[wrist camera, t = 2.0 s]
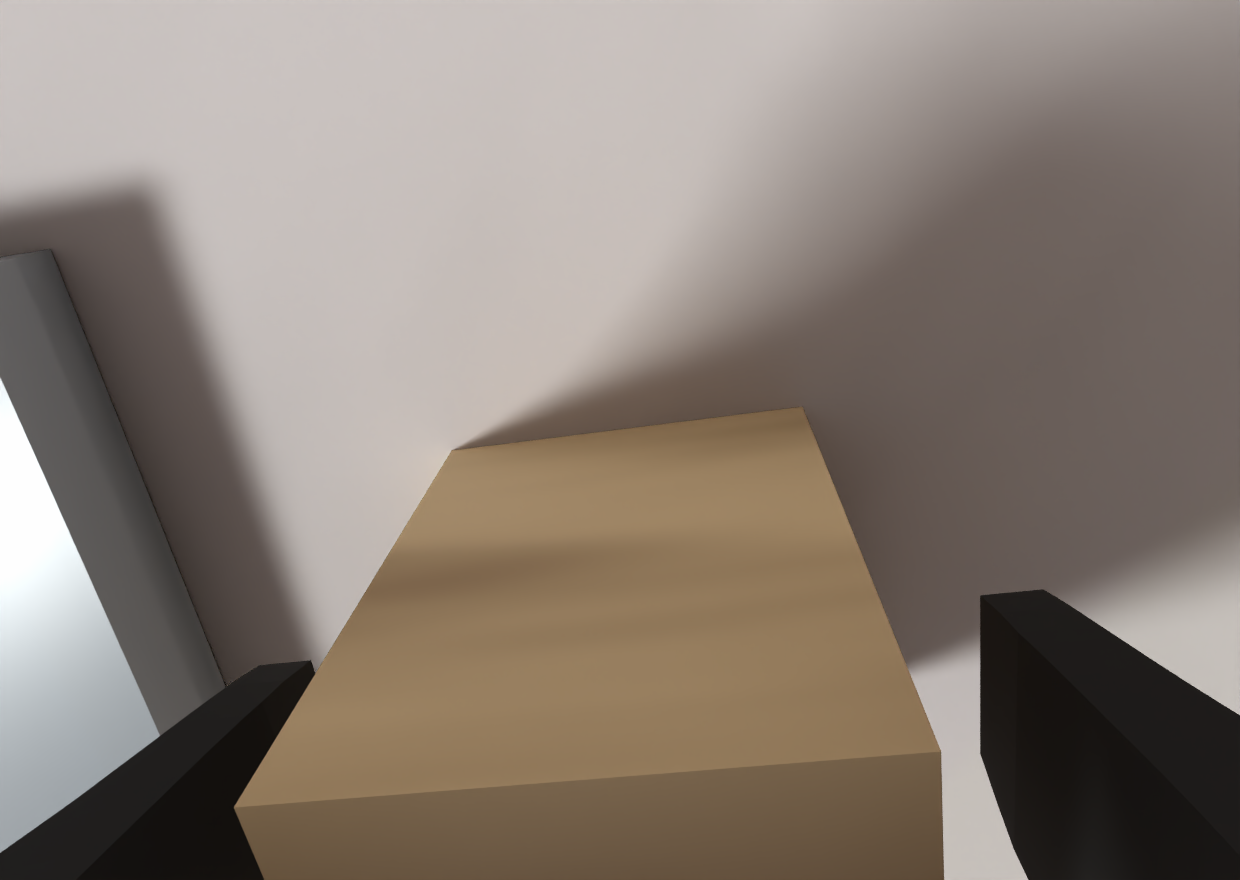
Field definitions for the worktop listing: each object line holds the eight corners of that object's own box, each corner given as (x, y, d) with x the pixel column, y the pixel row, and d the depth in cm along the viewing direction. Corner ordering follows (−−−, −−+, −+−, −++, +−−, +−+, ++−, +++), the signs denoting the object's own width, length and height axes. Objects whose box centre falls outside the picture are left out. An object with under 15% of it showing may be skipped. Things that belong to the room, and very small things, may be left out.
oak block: (826, 698, 12) (951, 1197, 7) (520, 724, 13) (404, 1209, 7) (802, 405, 11) (940, 750, 5) (452, 449, 11) (233, 806, 6)
